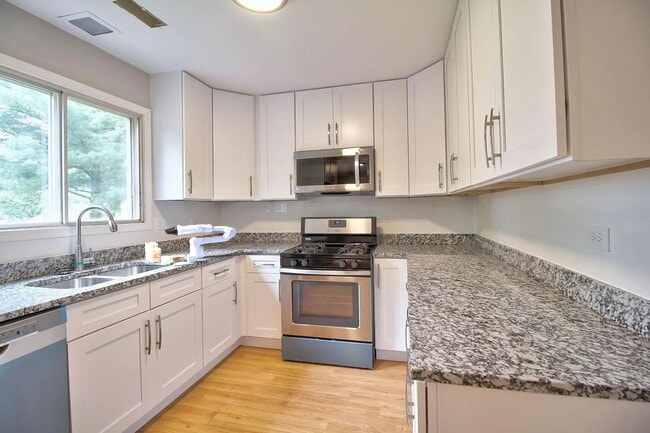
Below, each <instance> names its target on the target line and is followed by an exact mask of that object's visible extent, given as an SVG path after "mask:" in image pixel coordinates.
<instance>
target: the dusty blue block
mask: <svg viewBox="0 0 650 433" xmlns="http://www.w3.org/2000/svg"><path fill="white" fill-rule="evenodd" d="M186 258H187V259H186V262H187V261H188V262H192V263H197V258H196V255H195V254H193V255H190V254H187V256H186Z"/></svg>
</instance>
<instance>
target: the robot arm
mask: <svg viewBox="0 0 650 433" xmlns="http://www.w3.org/2000/svg"><path fill="white" fill-rule="evenodd" d="M213 231H214V232H215V231H216V232H219V231H220V232H224V234H223V235H217V236H209V237H196V236H193V237H191V238H190V239H189V244H190V246H189V251H190V252H189V253H190V254H189V255H193V254H195V255H196V259H203V257H204V258H205V256H204V254H205V253H204V252H205V251H204V246H203V245H205V244H212V243H213V244H214V243H222V242H223V243H224V242H227V241H229V240H230V239H232V238H234V237H235V236H236V234H237V229H236V228H235V227H230V226H225V225H224V226H213V225H212V224H211V223H209V224H196V225H195V224H194V225H185V226H181V225H180V224H178V225H177V227H176V226H172V227H169V228H165V229H164V233H165V234H166V235H173V236H179V235H180V236H181V235H185V234H186V235H187V234H193V233H194V234H196V233H212V232H213Z"/></svg>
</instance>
